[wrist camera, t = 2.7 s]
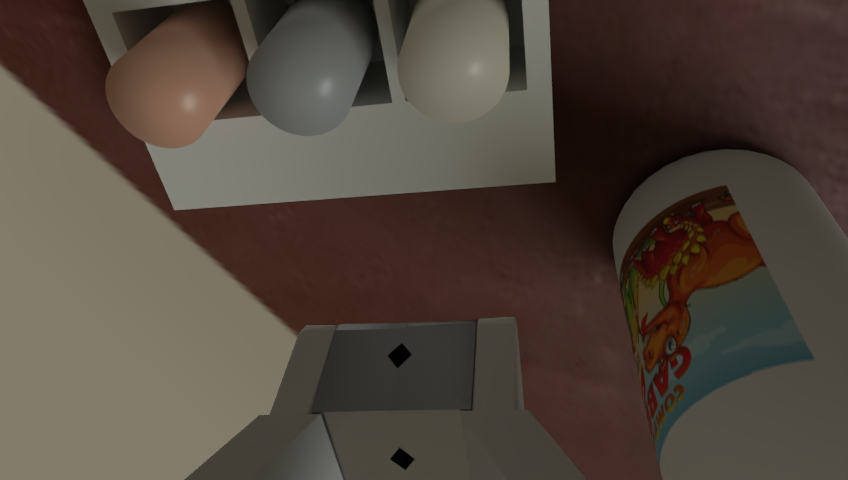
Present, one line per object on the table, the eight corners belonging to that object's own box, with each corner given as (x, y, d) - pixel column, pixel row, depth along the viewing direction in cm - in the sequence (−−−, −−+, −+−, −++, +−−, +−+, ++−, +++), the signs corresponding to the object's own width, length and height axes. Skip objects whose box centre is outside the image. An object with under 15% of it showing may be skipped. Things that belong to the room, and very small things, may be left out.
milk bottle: (790, 108, 24) (1358, 859, 8) (831, 264, 28) (1273, 984, 12) (581, 188, 27) (696, 865, 11) (644, 319, 30) (798, 965, 15)
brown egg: (158, 2, 21) (88, 57, 18) (242, -8, 21) (187, 46, 17) (189, 86, 23) (130, 152, 19) (268, 77, 22) (222, 143, 19)
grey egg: (279, -13, 21) (232, 41, 17) (369, -25, 20) (340, 28, 17) (302, 74, 22) (263, 140, 19) (386, 65, 22) (363, 131, 18)
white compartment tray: (115, -134, 21) (36, -106, 18) (534, -204, 19) (541, -189, 16) (218, 146, 27) (174, 210, 24) (548, 117, 25) (555, 181, 21)
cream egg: (409, -30, 20) (388, 22, 16) (504, -42, 19) (505, 9, 16) (423, 61, 22) (406, 127, 18) (511, 52, 21) (513, 117, 17)
